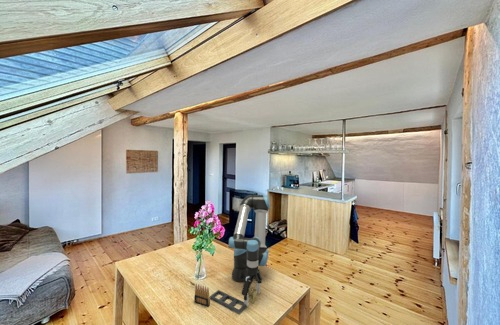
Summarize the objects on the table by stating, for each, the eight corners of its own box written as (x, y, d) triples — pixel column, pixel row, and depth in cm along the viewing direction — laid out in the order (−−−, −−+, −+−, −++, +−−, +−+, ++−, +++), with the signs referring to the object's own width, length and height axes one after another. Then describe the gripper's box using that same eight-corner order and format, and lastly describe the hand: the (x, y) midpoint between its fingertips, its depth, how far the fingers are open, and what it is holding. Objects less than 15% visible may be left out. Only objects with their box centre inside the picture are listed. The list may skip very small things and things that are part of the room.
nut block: (251, 298, 133) (251, 287, 133) (256, 300, 131) (256, 289, 131) (248, 301, 130) (248, 290, 130) (253, 304, 128) (253, 293, 128)
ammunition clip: (210, 305, 127) (209, 286, 127) (208, 307, 125) (208, 288, 125) (196, 300, 131) (195, 282, 131) (194, 302, 129) (194, 284, 129)
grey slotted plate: (218, 292, 139) (218, 289, 139) (247, 306, 125) (247, 303, 125) (210, 299, 132) (210, 296, 132) (239, 314, 119) (239, 311, 119)
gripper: (257, 256, 143) (257, 286, 143) (235, 272, 122) (235, 307, 122) (267, 259, 139) (266, 290, 138) (246, 276, 118) (245, 312, 118)
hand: (252, 298), depth 130 cm, fingers open, 13 cm apart
